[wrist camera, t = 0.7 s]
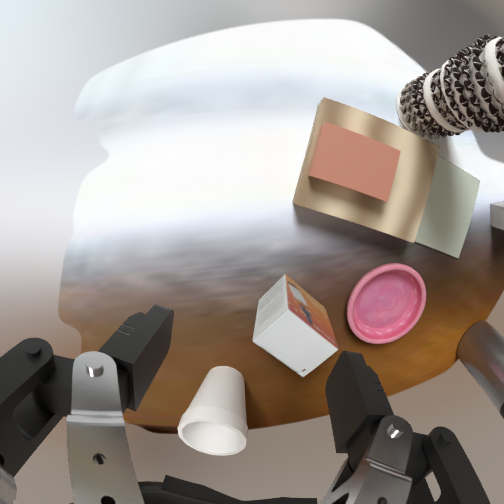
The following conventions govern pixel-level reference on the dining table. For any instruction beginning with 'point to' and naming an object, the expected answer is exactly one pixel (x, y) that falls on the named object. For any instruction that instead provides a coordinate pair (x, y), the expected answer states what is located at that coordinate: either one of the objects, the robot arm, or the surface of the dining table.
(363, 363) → the robot arm
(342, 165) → the salmon pink brick
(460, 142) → the dining table surface
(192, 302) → the dining table surface
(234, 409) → the foam cup
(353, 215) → the panel
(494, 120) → the decorative candle
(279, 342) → the small box
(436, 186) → the mat
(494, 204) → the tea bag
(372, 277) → the saucer
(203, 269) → the dining table surface
